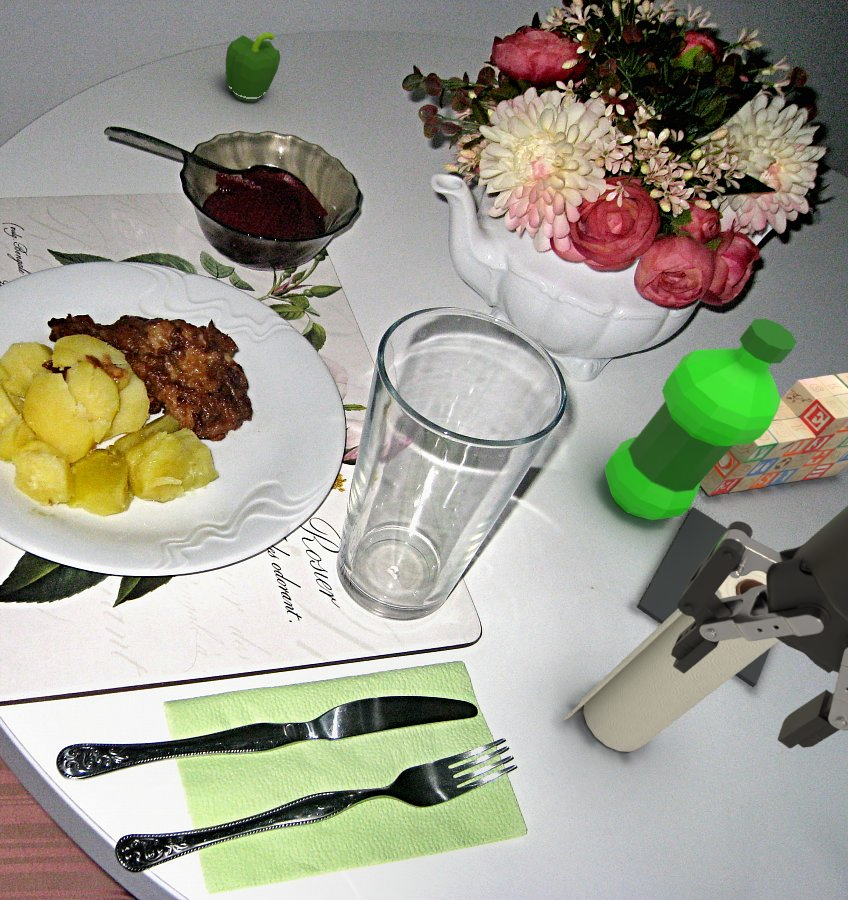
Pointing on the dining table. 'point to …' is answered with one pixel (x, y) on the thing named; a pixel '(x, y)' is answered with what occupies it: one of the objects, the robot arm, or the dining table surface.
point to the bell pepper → (251, 66)
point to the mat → (688, 576)
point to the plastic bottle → (699, 422)
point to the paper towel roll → (665, 679)
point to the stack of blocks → (791, 440)
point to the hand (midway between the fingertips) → (733, 696)
